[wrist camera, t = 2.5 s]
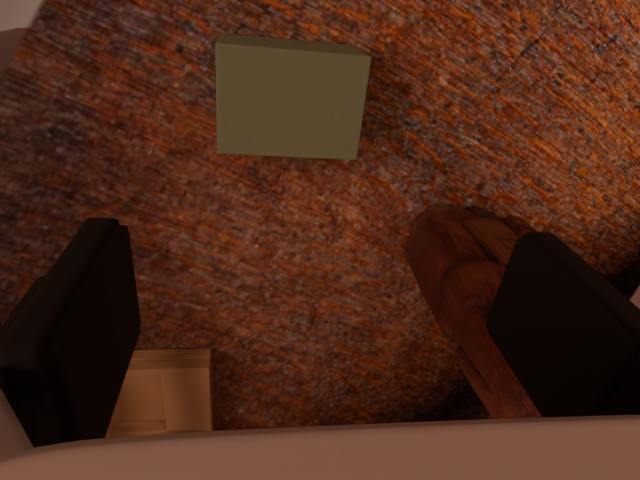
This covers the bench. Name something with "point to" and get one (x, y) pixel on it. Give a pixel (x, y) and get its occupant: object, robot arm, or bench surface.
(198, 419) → the frame
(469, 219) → the wooden figurine
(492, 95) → the bench surface
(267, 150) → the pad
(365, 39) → the bench surface
